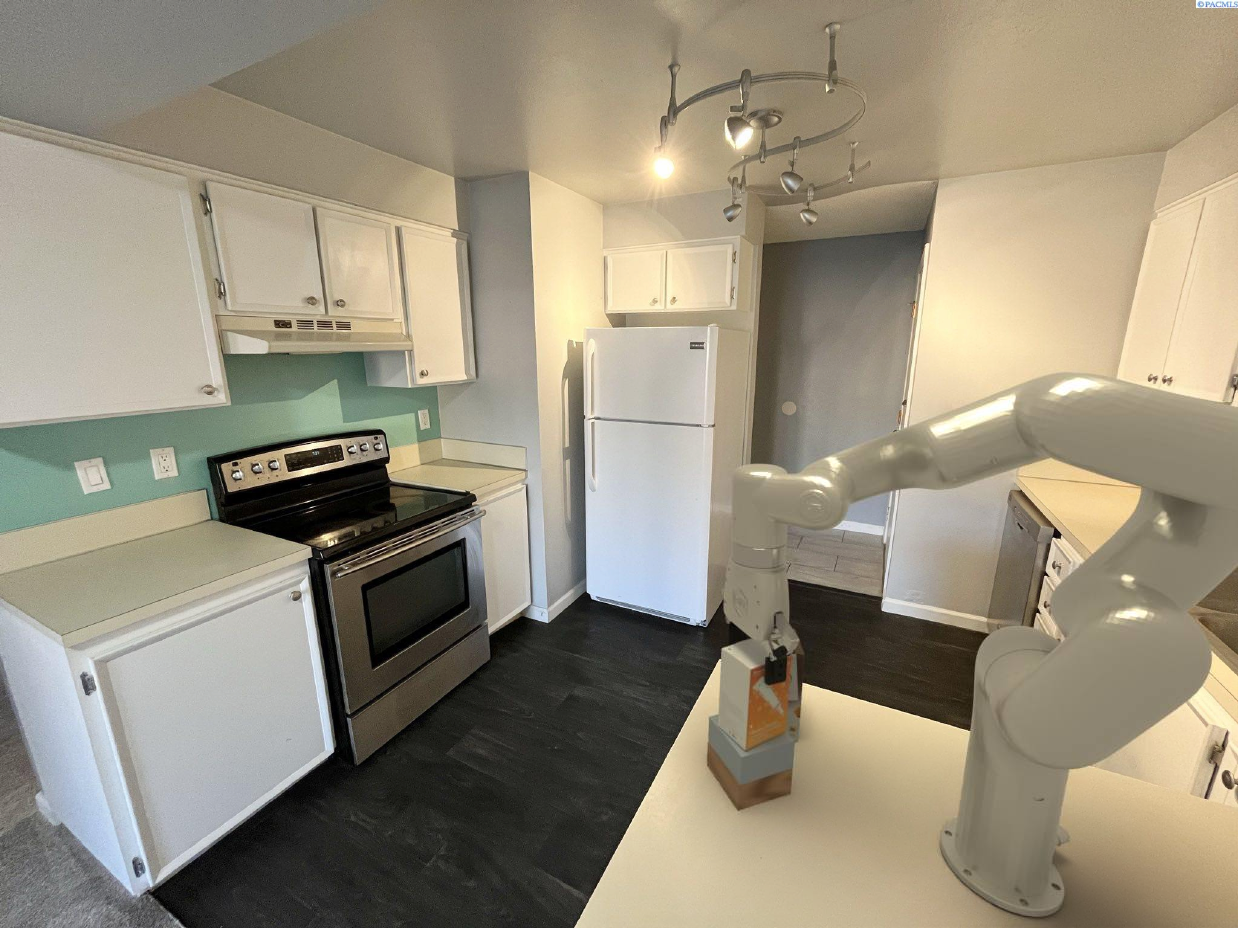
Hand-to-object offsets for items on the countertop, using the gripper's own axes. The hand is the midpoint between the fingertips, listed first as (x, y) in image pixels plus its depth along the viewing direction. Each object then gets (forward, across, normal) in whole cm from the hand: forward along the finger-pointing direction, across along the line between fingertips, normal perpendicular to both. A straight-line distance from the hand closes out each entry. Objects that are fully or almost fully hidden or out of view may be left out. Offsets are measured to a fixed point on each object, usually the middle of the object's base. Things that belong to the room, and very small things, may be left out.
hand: (754, 663), depth 76 cm
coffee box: (+20, -10, +11) cm, 25 cm away
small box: (+11, 0, 0) cm, 11 cm away
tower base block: (+20, 0, -1) cm, 20 cm away
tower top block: (+15, 0, 0) cm, 15 cm away
